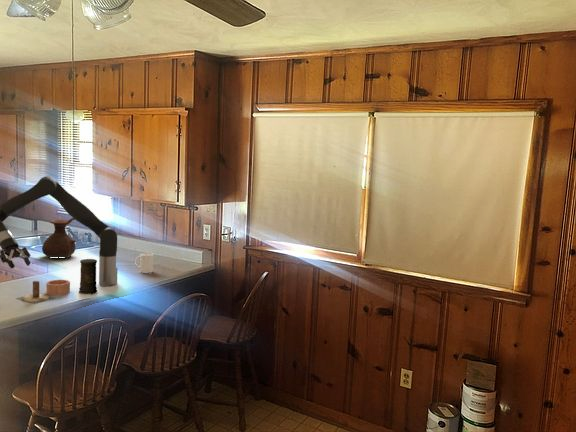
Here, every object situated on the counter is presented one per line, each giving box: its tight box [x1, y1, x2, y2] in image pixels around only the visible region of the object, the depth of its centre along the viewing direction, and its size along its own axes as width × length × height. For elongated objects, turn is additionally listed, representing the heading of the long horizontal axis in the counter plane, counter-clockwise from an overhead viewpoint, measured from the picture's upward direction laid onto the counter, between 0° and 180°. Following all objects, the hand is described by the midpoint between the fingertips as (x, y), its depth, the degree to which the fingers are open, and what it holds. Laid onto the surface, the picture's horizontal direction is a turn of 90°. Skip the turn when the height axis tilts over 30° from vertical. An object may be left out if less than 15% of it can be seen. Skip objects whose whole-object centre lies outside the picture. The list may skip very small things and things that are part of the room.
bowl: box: [45, 279, 71, 296], centre depth 248 cm, size 11×11×6 cm
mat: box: [15, 295, 57, 305], centre depth 236 cm, size 12×15×1 cm
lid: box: [22, 280, 50, 303], centre depth 235 cm, size 12×12×9 cm
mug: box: [134, 252, 154, 273], centre depth 303 cm, size 12×8×12 cm
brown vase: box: [41, 216, 77, 258], centre depth 329 cm, size 22×22×30 cm
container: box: [78, 258, 98, 295], centre depth 251 cm, size 9×9×18 cm
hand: (21, 266), depth 238 cm, fingers open, 8 cm apart
